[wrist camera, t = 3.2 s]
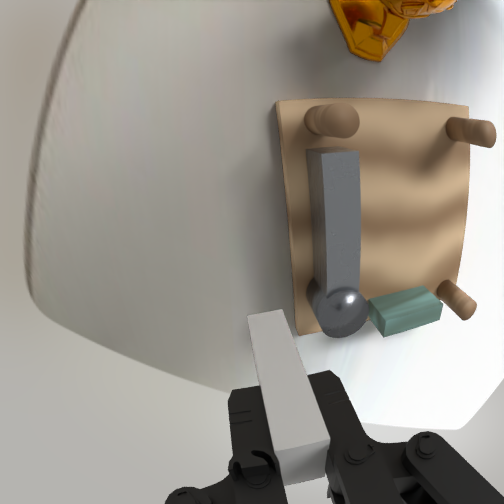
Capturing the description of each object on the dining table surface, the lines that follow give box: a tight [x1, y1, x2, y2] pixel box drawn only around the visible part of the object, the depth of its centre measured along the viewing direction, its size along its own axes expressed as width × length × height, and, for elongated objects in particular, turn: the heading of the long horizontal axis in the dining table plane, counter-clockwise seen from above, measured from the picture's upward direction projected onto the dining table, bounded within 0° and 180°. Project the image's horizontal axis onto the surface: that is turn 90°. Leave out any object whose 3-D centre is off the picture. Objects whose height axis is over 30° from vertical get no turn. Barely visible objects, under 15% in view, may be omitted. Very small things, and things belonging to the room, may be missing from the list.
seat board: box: [275, 98, 496, 337], centre depth 25 cm, size 22×20×6 cm
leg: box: [306, 146, 369, 338], centre depth 24 cm, size 15×4×4 cm, turn 7°
